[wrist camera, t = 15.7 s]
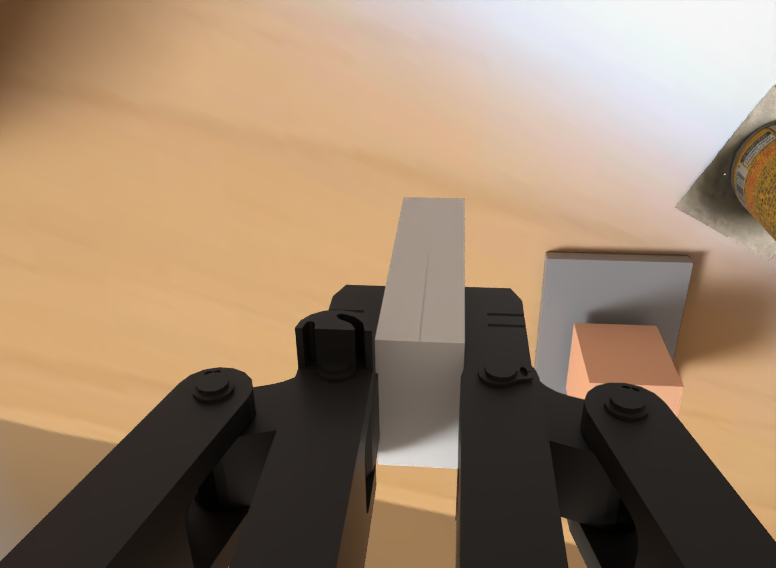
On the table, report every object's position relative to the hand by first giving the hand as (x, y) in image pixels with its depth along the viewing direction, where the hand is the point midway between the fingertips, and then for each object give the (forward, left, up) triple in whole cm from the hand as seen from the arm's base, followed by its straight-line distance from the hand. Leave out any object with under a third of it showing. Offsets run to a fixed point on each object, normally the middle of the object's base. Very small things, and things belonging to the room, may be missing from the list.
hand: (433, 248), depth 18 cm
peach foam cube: (+11, -19, -24) cm, 33 cm away
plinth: (+11, -18, -26) cm, 34 cm away
